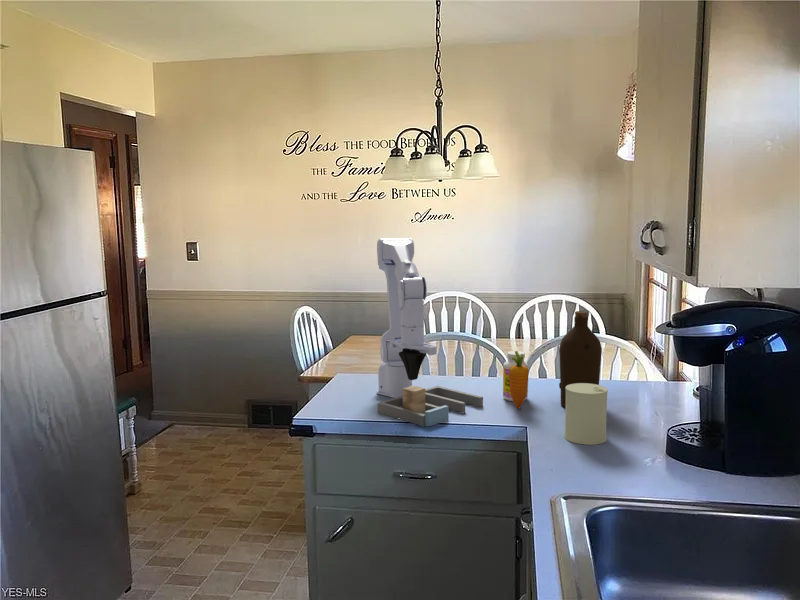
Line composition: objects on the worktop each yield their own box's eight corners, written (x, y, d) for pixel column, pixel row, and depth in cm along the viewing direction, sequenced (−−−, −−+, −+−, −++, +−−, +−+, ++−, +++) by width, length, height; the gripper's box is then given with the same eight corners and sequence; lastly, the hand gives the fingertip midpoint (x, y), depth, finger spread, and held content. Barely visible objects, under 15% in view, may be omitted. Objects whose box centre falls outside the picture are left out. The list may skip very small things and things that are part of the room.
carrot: (527, 411, 168) (528, 354, 166) (508, 410, 169) (508, 353, 167) (528, 406, 173) (529, 350, 171) (508, 405, 174) (509, 349, 172)
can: (600, 447, 142) (601, 393, 140) (558, 440, 147) (559, 388, 145) (611, 435, 150) (612, 384, 148) (571, 428, 155) (572, 379, 153)
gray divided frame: (377, 412, 169) (377, 398, 169) (437, 394, 185) (437, 382, 184) (426, 427, 157) (426, 413, 156) (486, 407, 172) (486, 394, 172)
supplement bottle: (500, 400, 178) (500, 354, 176) (506, 394, 184) (506, 349, 183) (525, 403, 176) (525, 356, 174) (529, 396, 182) (530, 351, 180)
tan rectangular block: (403, 415, 166) (402, 388, 165) (414, 412, 169) (413, 385, 168) (414, 418, 163) (414, 391, 162) (425, 415, 166) (425, 388, 165)
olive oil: (608, 407, 171) (611, 312, 168) (580, 414, 165) (583, 316, 162) (577, 398, 180) (579, 307, 177) (549, 404, 174) (551, 311, 171)
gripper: (380, 324, 165) (381, 377, 167) (422, 331, 155) (422, 387, 157) (400, 321, 170) (401, 372, 172) (442, 327, 160) (442, 381, 162)
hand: (412, 379), depth 165 cm, fingers closed
